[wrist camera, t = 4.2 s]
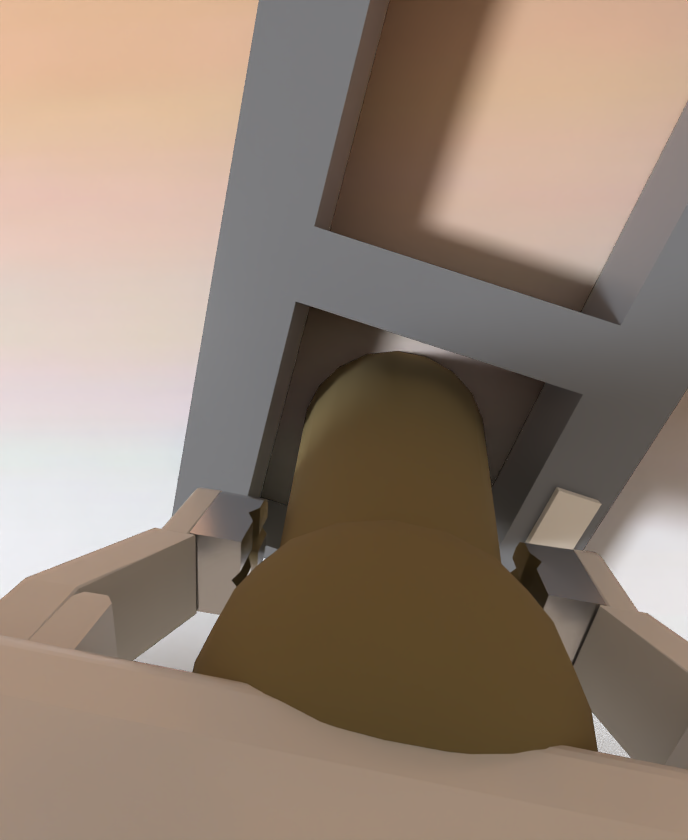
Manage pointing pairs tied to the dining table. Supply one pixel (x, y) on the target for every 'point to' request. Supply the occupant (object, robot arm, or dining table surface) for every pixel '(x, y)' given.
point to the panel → (422, 298)
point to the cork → (399, 581)
